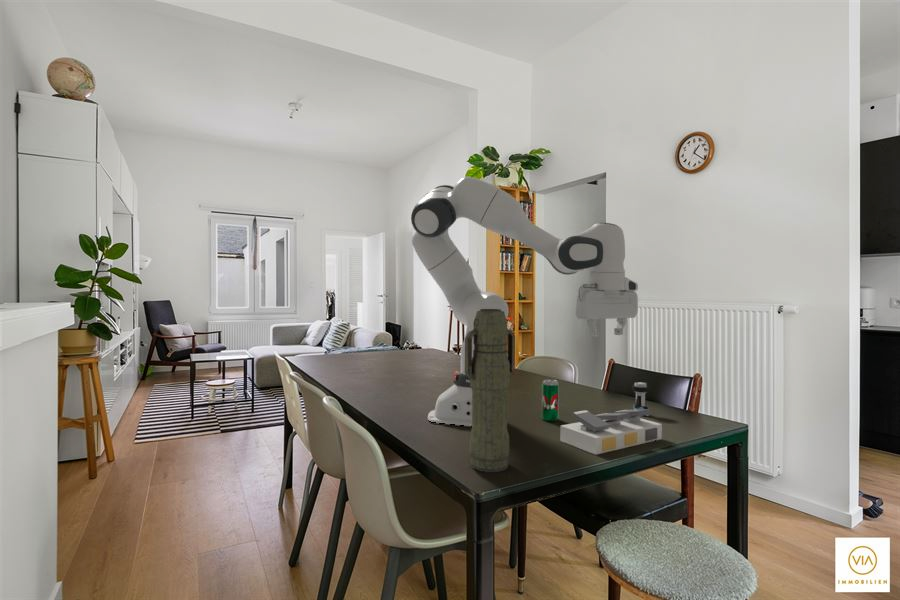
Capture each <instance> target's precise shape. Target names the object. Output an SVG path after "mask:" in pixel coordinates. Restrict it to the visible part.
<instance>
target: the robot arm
mask: <svg viewBox="0 0 900 600" xmlns="http://www.w3.org/2000/svg"><path fill="white" fill-rule="evenodd" d="M410 216H411V217H410V220H411V222H410V223H411V225H412V228H413V229H414V230H415V232H414V234H413V236H412V239H411V243H412V246H413V249H414V251H415V253H416V255H417V257H418V259H419V260H420V261H421V263H422V264H423V267H424V268H425V269H426V271H427V272H428V273H429V274H430V276H431V277H432V279H433V280H434V281H435V282H436V284H437V285H438V286H439V288H440V290H441V291H442V293H443V295H444V297H445V298H446V300H447V302H448V304H449V306H450V308H451V310H452V314H453V316H454V318H455V319H456V320H457V321H458V322H460V323H461V324H462V325H464V326H466V332H465V335H464V336H465V337H466V335H467V334H468V332H469V331H473V329H474V319H475V316H476V313H477V311H480V309H501V311H504V313H505V316H506V320H508V316H509V310H510V309H509V305H508V303H507V301H506V300H505V299H504V298H503V296H500V295H499V294H497V293H495V292H491V291H483V290H481V289H480V288H479V286H478V285H477V282H476V279H475V277H474V273H473V269H472V267H471V265H470V264H469V263H468V262H467V260H466V258H465V257H464V256H463V254H462V253H461V252H460V250H459V249H458V246H456V244H455V243H454V242H453V240H452V239H451V237H450V234H449V230H450V229H449V228H451V227H452V226H453V225H454V223H455V222H456V220H457V219H460V218H465V219H468V220H470V221H472V222H473V223H476V224H478V225H479V226H481V227H483V228H485V229H487V230H489V231H491V232H493V233H495V234H499V235H501V236H504V237H507V238H510V239H512V240H515V241H517V242H519V243H521V244H523V245H525V246H526V247H528V248H529V249H531V250H533V251H534V252H536V253H538V254H539V255H541V256H542V257H544V258H545V259H546V260H547V261H548V262H549V264H550V265H551V266H552V268H553V269H554V270H555V271H556V272H558V273H559V274H562V275H566V276H569V275H573V274H574V275H575V274H576V273H578V272H580V271H583V270H589V273H590V275H589V276H590V277H589V283H583V284H581V285H580V286H579V288H578V290H577V291H578V292H577V298H576V303H575V317H576V318H577V320H586V325H587V327H588V329H589V332H590V333H589V335H590V337H595V338H596V337H597V338H598V337H599V336H600V329H597V325H596V324H597V323H598V322H597V321H598V320H609V319H616V322H617V325H616V327H614V328H613V330H614V332H613V334H614V335H615V336H622V335H624V328H625V326H626V324H627V319H632V318H633V319H635V318H636V317H637V314H638V307H639V305H638V303H639V300H638V293H637V291H638V289H639V284H638V283H637V282H635V281H634V280H631V279H630V278H628V277H626V271H625V267H624V262H625V260H626V259H625V258H626V245H625V234H624V230H623V229H622V228H621V227H620V226H619V225H617V224H614V223H611V222H597V223H594V224H593V225H592V226H590V227H589V228H587V229H585V230H583V231H582V232H579V233H576V234H574V235H570V236H567V237H566V238H558V237H556V236H555V235H552V234H551V233H549V232H547V231H546V230H544V229H543V228H541V227H539V226H538V225H536V224H534V223H533V222H532V221H531V220H530V219H529V217H528V216H527V215H526V213H525V211H524V209H523V206H522V204H521V202H520V201H518V200H517V199H516V198H515V197H513V196H512V195H511V194H510V193H508V192H506V191H505V190H503V189H501V188H499V187H497V186H495V185H493V184H492V183H489V182H487V181H484V180H481V179H479V178H476V177H472V176H464V177H462V178H460V179H459V180H458V181H457V182H456V184H455V185H454V186H453V185H449V184H445V185H444V184H443V185H438V186H436V187H435V188H433V189H432V190H430V191H428V192H427V193H426V194H425V195H423V197H422V198H421V199H420V200H419V201H418V202H417V203H416V204H415V206H413V210H412V212H411V215H410ZM465 337H464V339H463V342H462V344H461V346H460V371H455V372H454V373H453V385H451V386H450V387H449V388H447V389H446V390H445V391H444V392H443V393H442V392H441V394H440V395H439V396H438V397H437V399H436V403H435V406H434V409H432V410H430V411H429V412H428V414H427V421H428V420H429V421H431V422H436V423H435V424H439V423H445V424H444V425H450V424H455V425H454V426H460V425H464V426H463V427H471V426H472V389H471V387H470V378H469V377H468V376H467V375H466V374H465ZM473 350H474V344H473V338H472V358H473ZM429 421H428V422H429ZM431 422H430V423H431Z"/></svg>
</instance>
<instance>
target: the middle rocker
mask: <svg viewBox="0 0 900 600" xmlns="http://www.w3.org/2000/svg"><path fill="white" fill-rule="evenodd" d="M594 415H595V416H596V417H598V418H600V419H601V420H621V419H626V418H631V416H630V413H614V412H613V413H610V412H607V413H606V412H605V413H601V414H600V413H599V414H594Z"/></svg>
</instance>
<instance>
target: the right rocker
mask: <svg viewBox="0 0 900 600" xmlns="http://www.w3.org/2000/svg"><path fill="white" fill-rule="evenodd" d="M613 413H630V416H640V417H643V416H642V415H647V414H648V415H651V414H652V412H651V409H649V408H648V409H641V410H633V409H623V410H617V411H613Z"/></svg>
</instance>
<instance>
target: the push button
mask: <svg viewBox="0 0 900 600" xmlns="http://www.w3.org/2000/svg"><path fill="white" fill-rule="evenodd" d="M631 388H632V391H633V392H634V393H635V403H634V404H633V409H632V410H641V409H649V407H647V406H646V394H647V393H649V390H650V385H647V382H643V381H642V382H641V381H640V382H638V381H637V382H634V384H632V385H631ZM645 416H646V417H649V416H650V414H647V415H642V416H641V417H645Z"/></svg>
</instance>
